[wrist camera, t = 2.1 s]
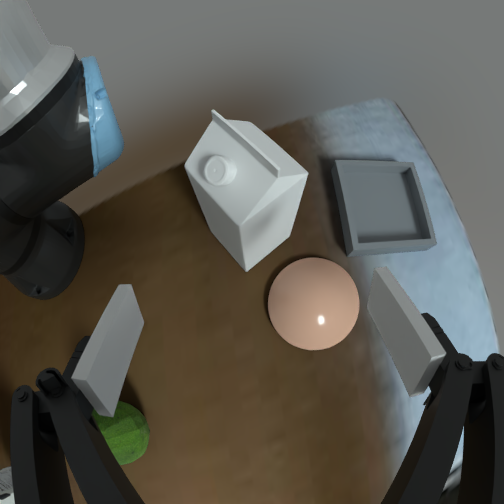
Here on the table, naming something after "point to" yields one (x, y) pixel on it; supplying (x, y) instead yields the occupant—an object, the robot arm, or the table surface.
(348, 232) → the square tray
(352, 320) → the peach flat disc
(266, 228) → the milk carton
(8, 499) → the candy box
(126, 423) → the avocado
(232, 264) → the table surface
